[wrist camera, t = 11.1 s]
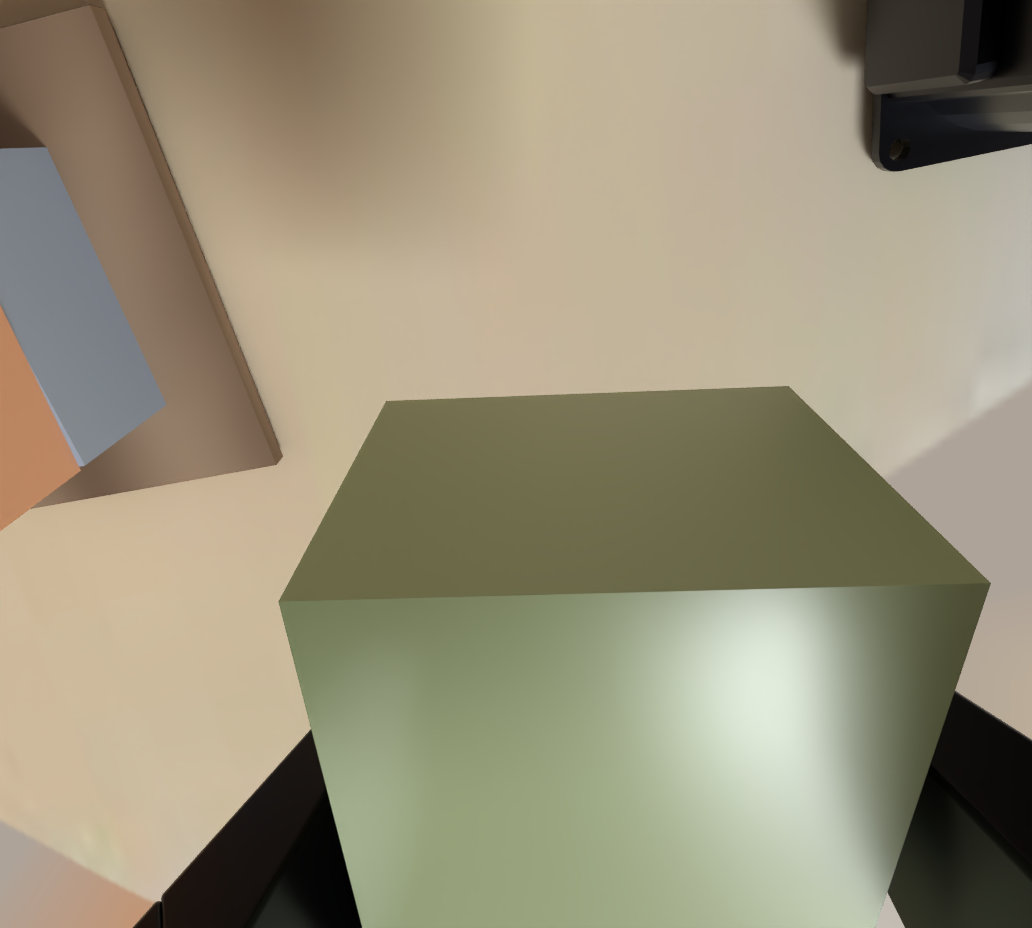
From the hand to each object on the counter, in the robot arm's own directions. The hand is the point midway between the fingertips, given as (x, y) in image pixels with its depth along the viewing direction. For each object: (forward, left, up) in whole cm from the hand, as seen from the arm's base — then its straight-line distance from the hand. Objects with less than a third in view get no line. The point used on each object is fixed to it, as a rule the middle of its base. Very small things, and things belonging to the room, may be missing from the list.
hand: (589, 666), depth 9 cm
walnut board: (+14, -5, -12) cm, 19 cm away
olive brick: (0, 0, -1) cm, 1 cm away
